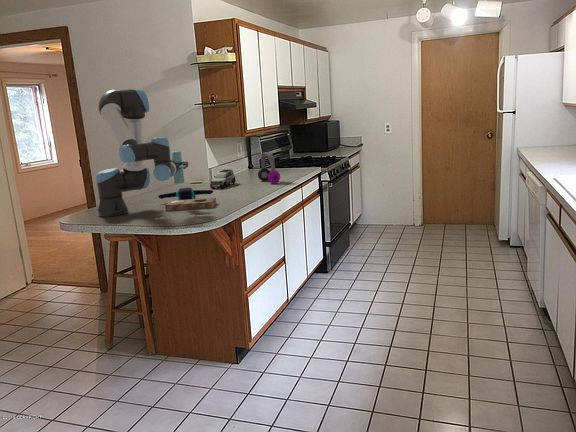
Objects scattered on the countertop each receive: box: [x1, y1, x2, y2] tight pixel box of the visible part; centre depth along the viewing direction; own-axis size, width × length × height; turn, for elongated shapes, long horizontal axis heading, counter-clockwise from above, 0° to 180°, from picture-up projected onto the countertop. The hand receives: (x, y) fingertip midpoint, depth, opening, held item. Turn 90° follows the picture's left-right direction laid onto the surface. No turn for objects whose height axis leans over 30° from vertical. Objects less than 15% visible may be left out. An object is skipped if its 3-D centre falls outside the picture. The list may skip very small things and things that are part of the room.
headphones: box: [257, 151, 281, 185], centre depth 331 cm, size 21×9×20 cm, turn 25°
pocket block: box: [164, 197, 217, 212], centre depth 261 cm, size 24×12×4 cm, turn 88°
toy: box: [157, 187, 214, 200], centre depth 289 cm, size 31×8×30 cm
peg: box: [170, 150, 185, 184], centre depth 257 cm, size 5×5×16 cm
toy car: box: [209, 168, 236, 189], centre depth 330 cm, size 13×24×10 cm, turn 172°
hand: (179, 163), depth 262 cm, fingers closed on peg, 5 cm apart
